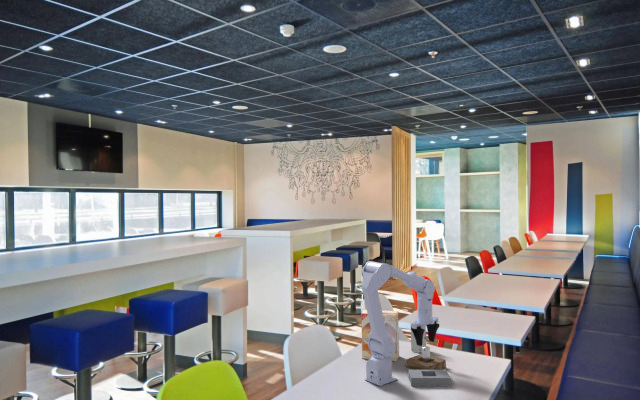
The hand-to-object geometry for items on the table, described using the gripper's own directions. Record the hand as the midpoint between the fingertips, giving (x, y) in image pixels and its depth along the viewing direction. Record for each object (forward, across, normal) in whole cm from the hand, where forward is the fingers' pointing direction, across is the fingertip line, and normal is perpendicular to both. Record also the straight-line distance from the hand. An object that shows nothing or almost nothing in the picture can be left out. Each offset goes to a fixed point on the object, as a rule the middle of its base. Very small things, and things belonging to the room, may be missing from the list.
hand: (425, 343), depth 185 cm
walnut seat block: (+10, 0, 0) cm, 10 cm away
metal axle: (+10, 0, 0) cm, 10 cm away
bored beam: (+10, -11, -10) cm, 18 cm away
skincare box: (+10, +14, +15) cm, 23 cm away
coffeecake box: (+10, -5, +20) cm, 23 cm away
